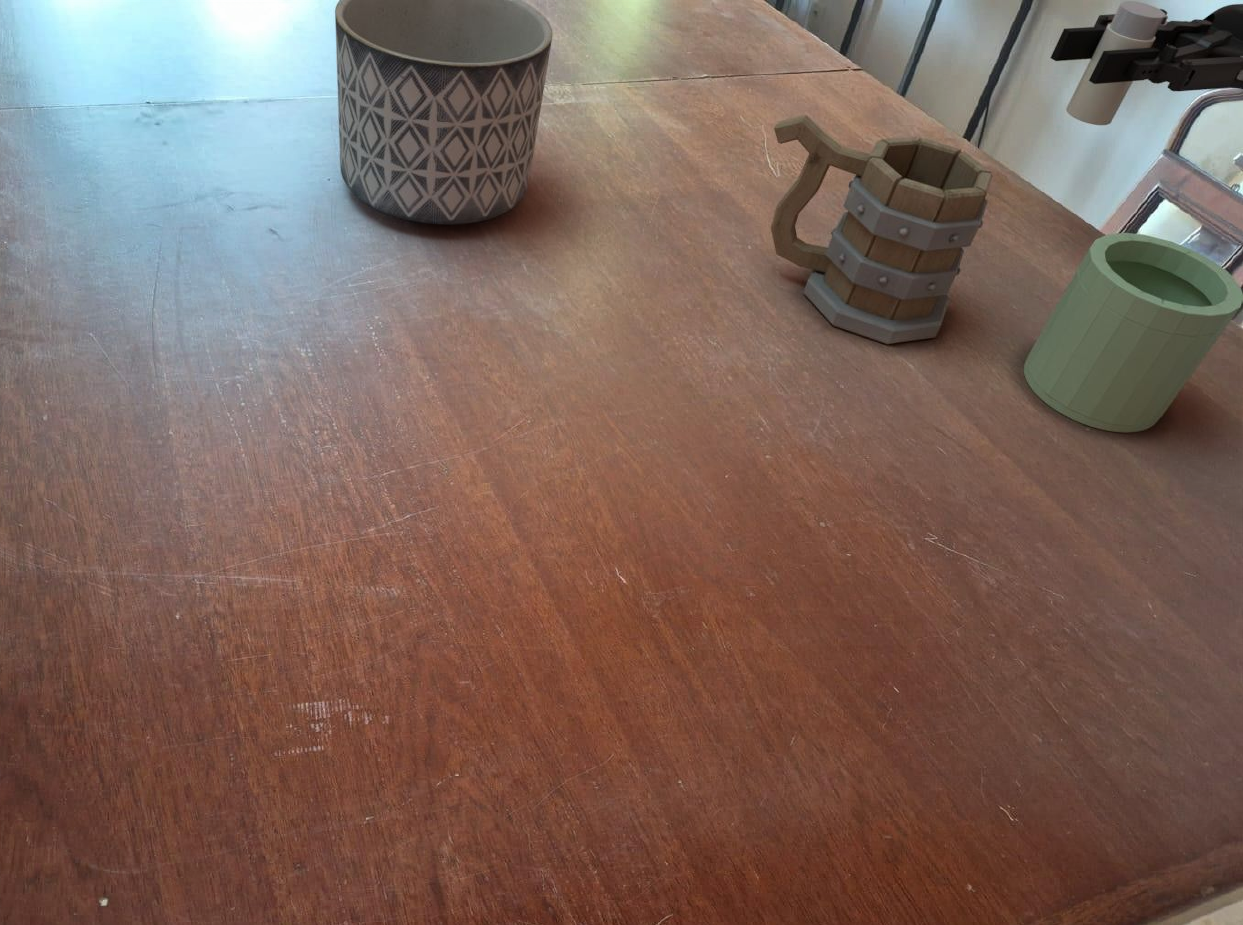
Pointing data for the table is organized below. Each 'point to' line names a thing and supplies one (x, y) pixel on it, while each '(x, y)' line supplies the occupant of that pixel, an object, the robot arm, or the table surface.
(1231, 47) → the robot arm
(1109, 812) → the table surface
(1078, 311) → the jar
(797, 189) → the tankard
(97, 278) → the table surface
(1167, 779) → the table surface
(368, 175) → the planter
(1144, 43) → the salt shaker
